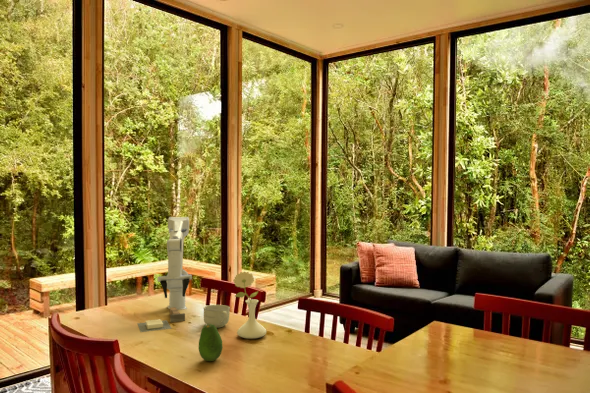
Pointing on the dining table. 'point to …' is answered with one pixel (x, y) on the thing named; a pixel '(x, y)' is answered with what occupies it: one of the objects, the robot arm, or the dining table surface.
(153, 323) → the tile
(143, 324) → the mat
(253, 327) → the flower in vase
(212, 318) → the teacup
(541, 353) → the dining table surface
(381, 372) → the dining table surface
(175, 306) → the robot arm
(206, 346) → the fruit
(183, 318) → the hammer
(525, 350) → the dining table surface
